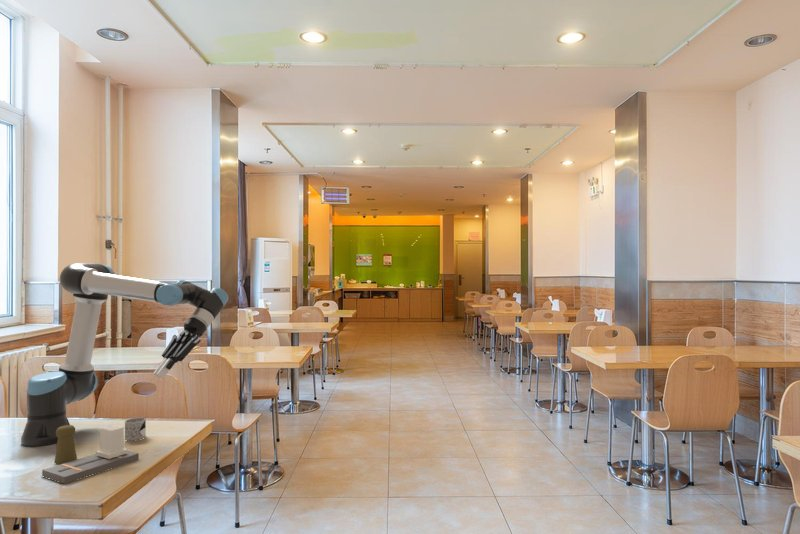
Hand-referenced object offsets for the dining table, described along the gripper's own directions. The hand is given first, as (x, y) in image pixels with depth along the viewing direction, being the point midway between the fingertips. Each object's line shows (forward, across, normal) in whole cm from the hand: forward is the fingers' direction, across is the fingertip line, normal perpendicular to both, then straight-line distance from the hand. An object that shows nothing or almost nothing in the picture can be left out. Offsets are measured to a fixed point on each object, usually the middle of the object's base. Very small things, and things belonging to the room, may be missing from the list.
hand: (158, 375), depth 176 cm
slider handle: (+27, 0, -4) cm, 27 cm away
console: (+33, 0, -1) cm, 33 cm away
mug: (+15, +18, -20) cm, 30 cm away
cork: (+33, +14, -1) cm, 36 cm away
